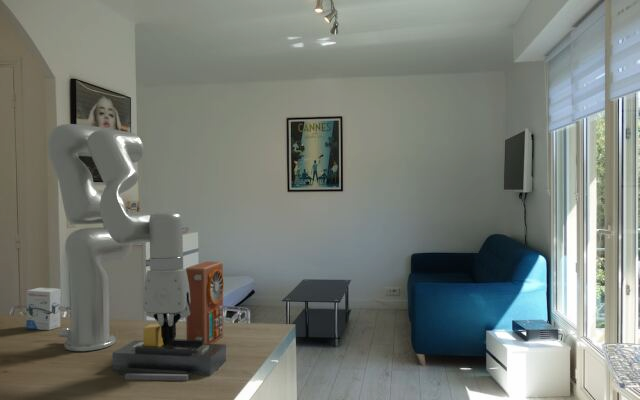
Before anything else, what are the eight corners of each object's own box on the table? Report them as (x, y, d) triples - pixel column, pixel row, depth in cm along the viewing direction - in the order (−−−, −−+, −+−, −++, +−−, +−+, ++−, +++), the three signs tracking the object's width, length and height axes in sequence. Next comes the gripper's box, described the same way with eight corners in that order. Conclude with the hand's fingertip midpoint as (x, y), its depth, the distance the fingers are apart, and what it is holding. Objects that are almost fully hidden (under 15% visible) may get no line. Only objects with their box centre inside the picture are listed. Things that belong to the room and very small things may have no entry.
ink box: (25, 329, 154) (25, 290, 154) (38, 324, 159) (37, 287, 159) (49, 330, 152) (49, 291, 152) (61, 326, 157) (61, 288, 157)
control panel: (227, 335, 146) (205, 351, 132) (205, 333, 148) (180, 349, 133) (227, 261, 146) (205, 268, 131) (204, 260, 147) (180, 268, 133)
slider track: (112, 369, 118) (112, 347, 118) (135, 356, 128) (134, 335, 128) (210, 375, 114) (210, 352, 114) (226, 360, 124) (225, 339, 124)
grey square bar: (124, 379, 112) (124, 375, 112) (126, 377, 113) (126, 373, 113) (187, 380, 111) (186, 376, 111) (188, 378, 112) (188, 374, 112)
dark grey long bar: (118, 374, 115) (118, 369, 115) (121, 372, 116) (121, 367, 116) (184, 378, 112) (184, 373, 112) (187, 376, 114) (187, 371, 114)
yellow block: (143, 349, 120) (143, 328, 120) (152, 344, 124) (151, 323, 124) (155, 349, 119) (155, 328, 119) (163, 344, 123) (163, 324, 123)
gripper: (129, 266, 118) (131, 345, 118) (190, 266, 116) (192, 346, 116) (145, 262, 126) (147, 336, 126) (202, 262, 123) (204, 337, 123)
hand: (168, 341), depth 121 cm, fingers closed
